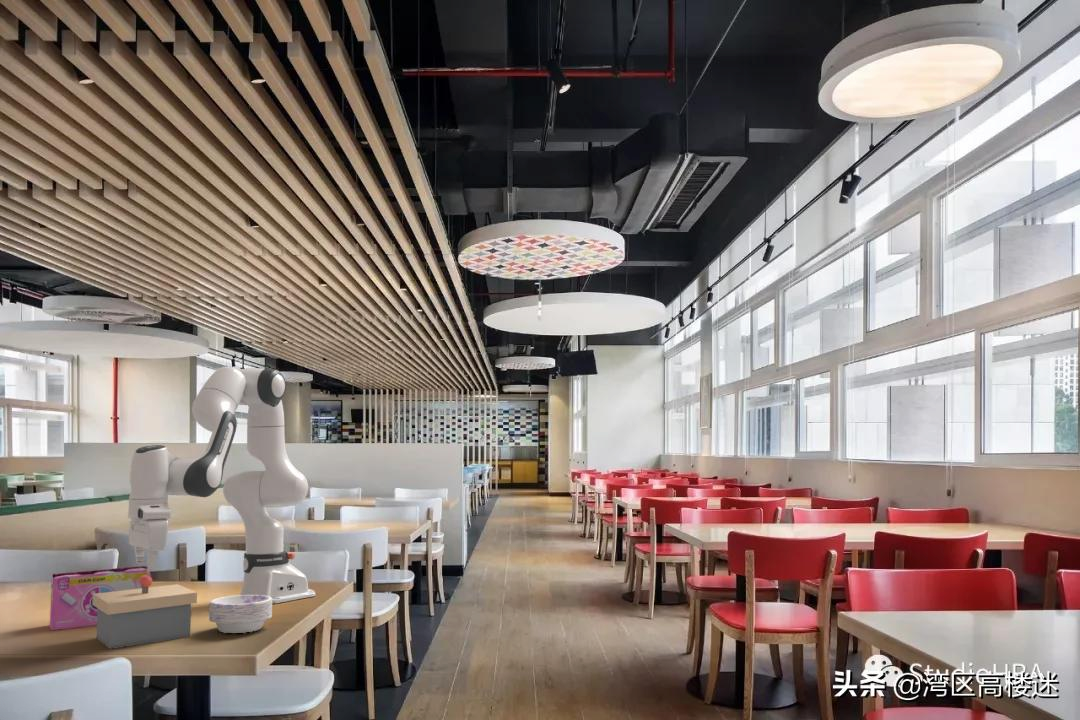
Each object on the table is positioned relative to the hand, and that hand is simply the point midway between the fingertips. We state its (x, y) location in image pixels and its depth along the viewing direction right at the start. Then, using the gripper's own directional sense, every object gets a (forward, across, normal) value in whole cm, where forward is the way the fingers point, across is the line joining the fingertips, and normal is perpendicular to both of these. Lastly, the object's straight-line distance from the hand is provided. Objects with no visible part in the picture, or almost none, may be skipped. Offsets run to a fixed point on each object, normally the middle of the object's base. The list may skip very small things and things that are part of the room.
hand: (145, 566), depth 202 cm
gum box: (+17, -27, -4) cm, 32 cm away
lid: (+9, 0, 0) cm, 9 cm away
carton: (+17, 0, 0) cm, 17 cm away
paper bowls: (+17, +8, +21) cm, 29 cm away
